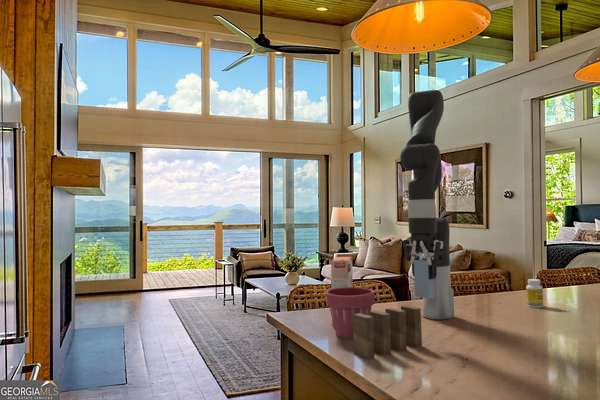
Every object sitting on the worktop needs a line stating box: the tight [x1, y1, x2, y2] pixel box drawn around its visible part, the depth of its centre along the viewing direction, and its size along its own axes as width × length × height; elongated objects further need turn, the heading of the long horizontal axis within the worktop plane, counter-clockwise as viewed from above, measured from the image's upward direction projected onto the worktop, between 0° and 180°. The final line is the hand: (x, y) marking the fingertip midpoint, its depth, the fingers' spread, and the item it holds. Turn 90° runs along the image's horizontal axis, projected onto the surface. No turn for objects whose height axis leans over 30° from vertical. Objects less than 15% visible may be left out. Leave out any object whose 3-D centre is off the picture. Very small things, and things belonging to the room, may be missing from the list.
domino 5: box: [414, 259, 435, 299], centre depth 130 cm, size 2×5×10 cm, turn 32°
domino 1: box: [353, 313, 375, 360], centre depth 119 cm, size 2×5×10 cm, turn 31°
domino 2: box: [370, 310, 392, 356], centre depth 121 cm, size 2×5×10 cm, turn 32°
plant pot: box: [325, 286, 375, 339], centre depth 140 cm, size 14×14×13 cm
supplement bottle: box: [525, 278, 544, 308], centre depth 171 cm, size 5×5×10 cm
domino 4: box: [400, 304, 423, 348], centre depth 127 cm, size 2×5×10 cm, turn 31°
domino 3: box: [384, 307, 408, 352], centre depth 124 cm, size 2×5×10 cm, turn 31°
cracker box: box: [330, 256, 354, 327], centre depth 156 cm, size 14×6×21 cm, turn 168°
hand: (424, 277), depth 130 cm, fingers closed on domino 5, 5 cm apart
